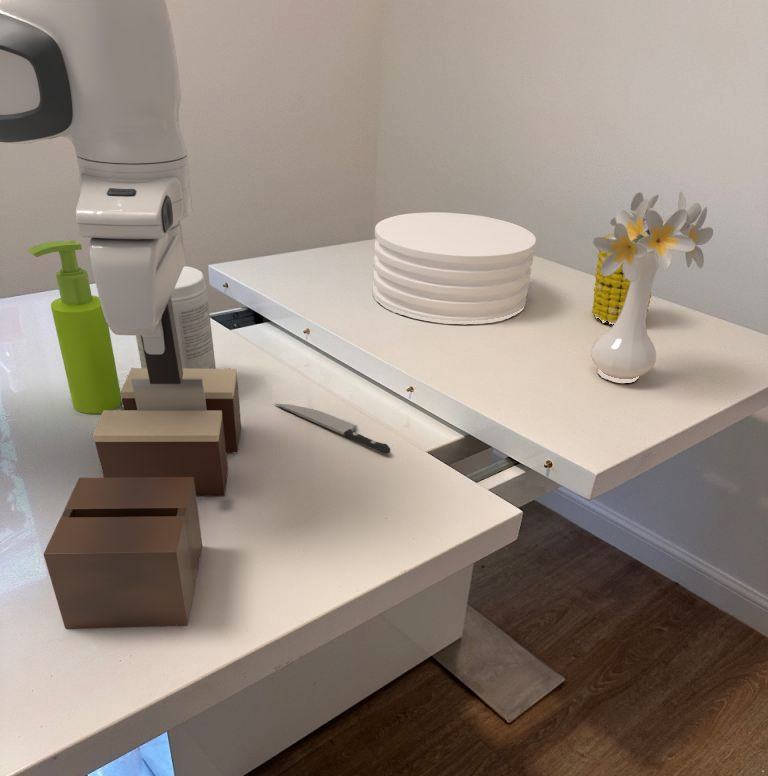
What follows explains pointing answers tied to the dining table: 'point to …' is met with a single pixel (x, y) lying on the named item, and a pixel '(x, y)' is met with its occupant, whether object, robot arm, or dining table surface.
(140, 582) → the knife block
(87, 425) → the dining table surface
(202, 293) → the supplement tub
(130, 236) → the robot arm
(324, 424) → the chef's knife
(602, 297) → the food
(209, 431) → the cake slice
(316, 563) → the dining table surface
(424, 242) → the plate stack
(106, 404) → the soap dispenser
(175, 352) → the knife
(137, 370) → the cake
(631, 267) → the flower vase
